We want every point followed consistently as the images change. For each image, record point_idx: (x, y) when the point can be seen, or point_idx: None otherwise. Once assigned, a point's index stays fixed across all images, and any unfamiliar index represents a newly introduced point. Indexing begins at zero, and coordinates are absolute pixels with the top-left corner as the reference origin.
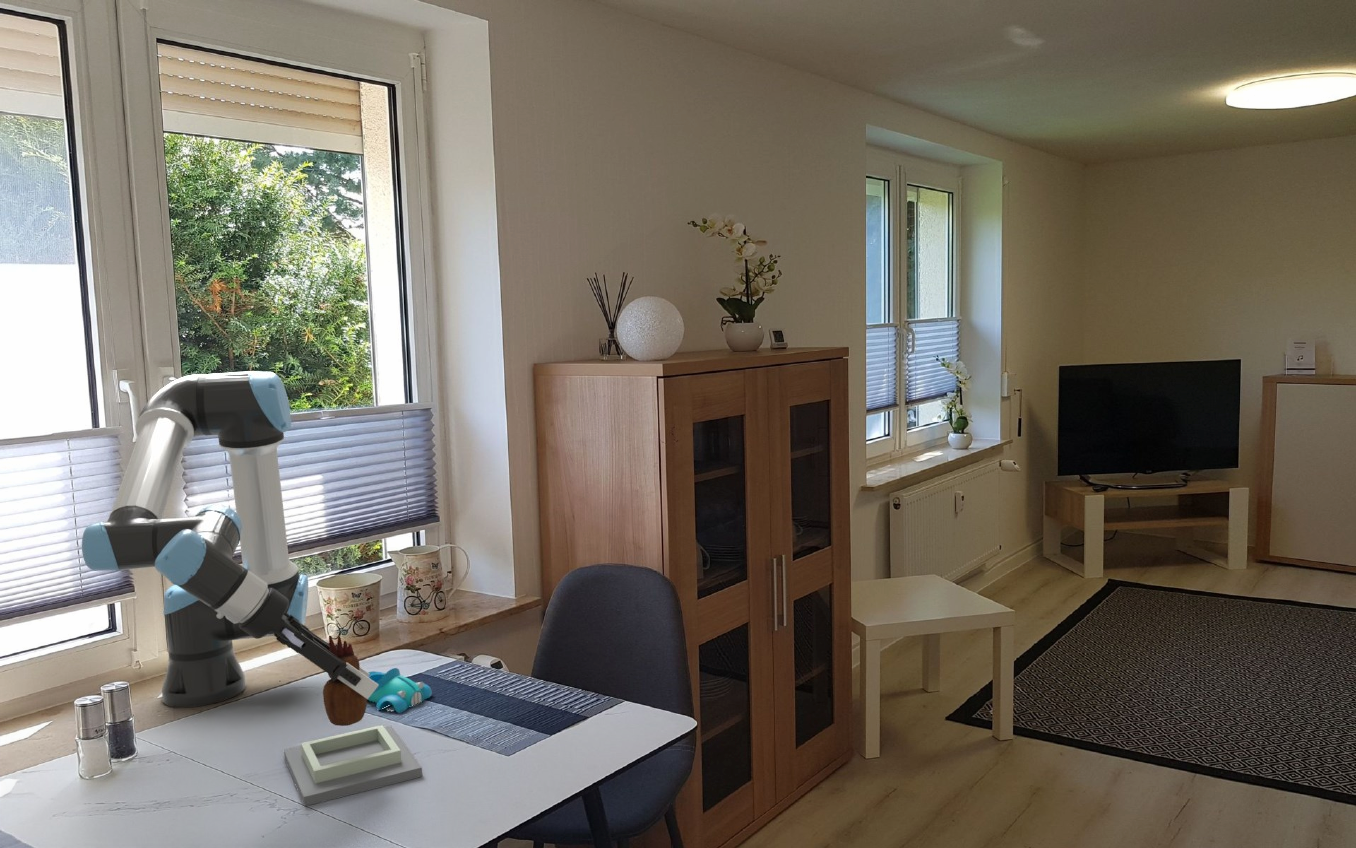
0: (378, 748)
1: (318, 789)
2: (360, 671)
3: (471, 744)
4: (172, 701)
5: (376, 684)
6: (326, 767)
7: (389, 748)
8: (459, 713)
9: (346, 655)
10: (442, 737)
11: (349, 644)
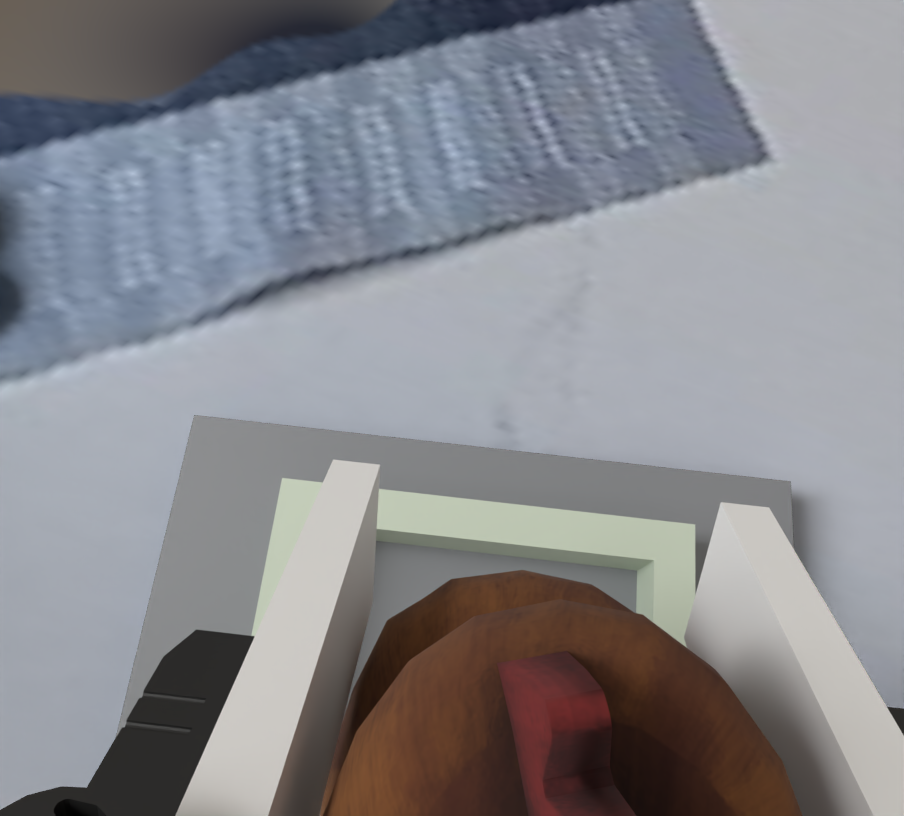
0: (433, 570)
1: None
2: (361, 552)
3: (573, 216)
4: None
5: (772, 525)
6: None
7: (609, 557)
8: (223, 129)
9: None
10: (419, 274)
11: (583, 731)
